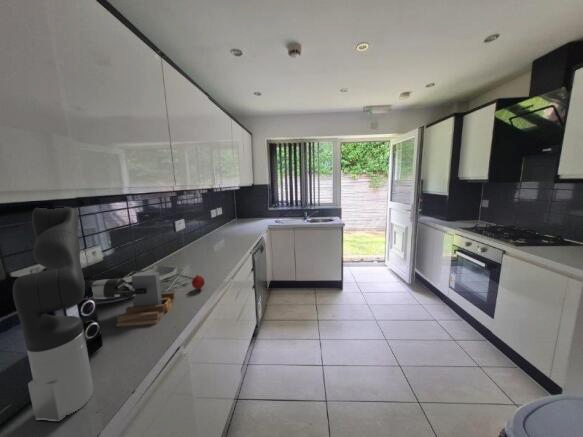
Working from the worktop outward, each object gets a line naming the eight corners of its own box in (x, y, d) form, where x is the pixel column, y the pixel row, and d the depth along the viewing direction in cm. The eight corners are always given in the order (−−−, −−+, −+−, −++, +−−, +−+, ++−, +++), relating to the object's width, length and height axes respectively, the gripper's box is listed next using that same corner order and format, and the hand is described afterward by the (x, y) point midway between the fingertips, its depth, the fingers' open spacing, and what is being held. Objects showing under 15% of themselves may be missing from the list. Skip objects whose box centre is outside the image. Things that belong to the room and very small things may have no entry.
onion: (192, 288, 116) (191, 273, 115) (204, 286, 118) (203, 271, 117) (192, 293, 111) (191, 277, 109) (205, 291, 113) (203, 275, 111)
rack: (159, 323, 87) (158, 314, 86) (116, 326, 85) (115, 318, 84) (177, 297, 106) (177, 290, 106) (143, 300, 105) (142, 292, 104)
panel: (159, 309, 95) (155, 275, 92) (135, 311, 93) (131, 276, 91) (162, 305, 97) (158, 272, 95) (139, 307, 96) (135, 273, 94)
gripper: (94, 287, 85) (141, 284, 87) (118, 273, 99) (158, 270, 101) (97, 306, 86) (144, 303, 88) (120, 289, 100) (160, 286, 102)
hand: (151, 285), depth 94 cm, fingers open, 8 cm apart
